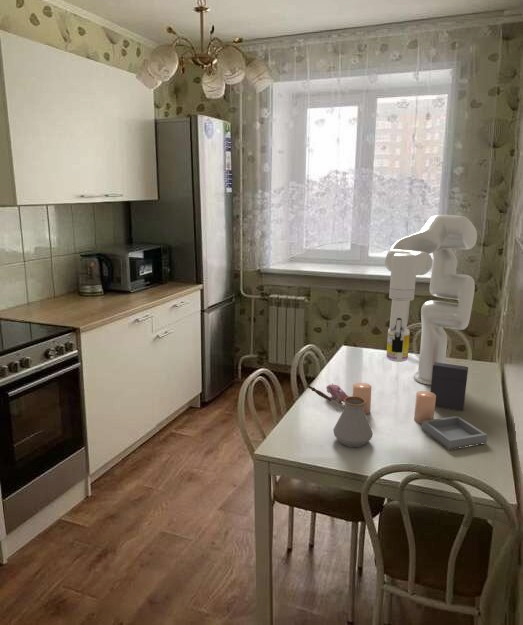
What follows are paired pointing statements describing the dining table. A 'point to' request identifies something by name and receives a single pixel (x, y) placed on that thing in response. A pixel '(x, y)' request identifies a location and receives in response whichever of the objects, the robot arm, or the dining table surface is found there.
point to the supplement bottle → (404, 355)
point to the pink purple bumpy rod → (336, 392)
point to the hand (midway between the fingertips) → (397, 347)
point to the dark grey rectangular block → (449, 385)
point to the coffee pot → (350, 421)
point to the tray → (454, 432)
